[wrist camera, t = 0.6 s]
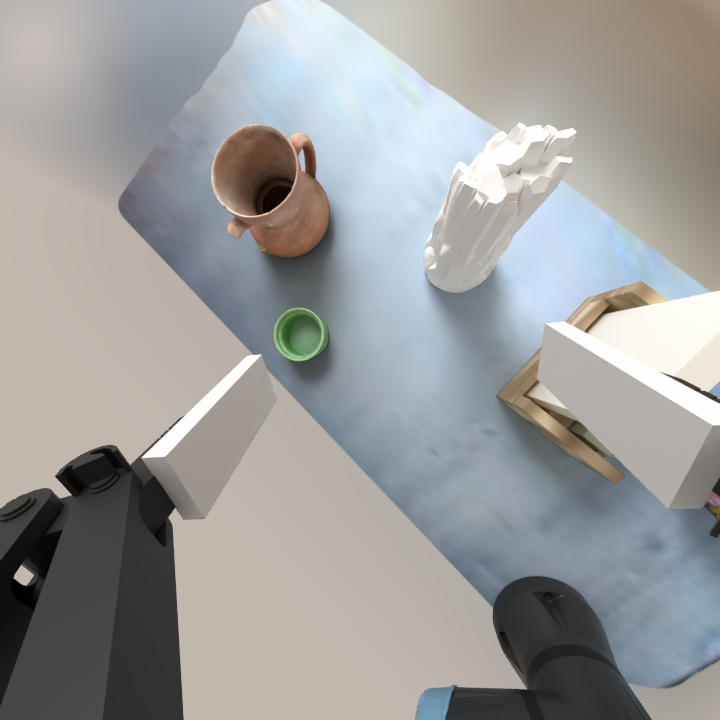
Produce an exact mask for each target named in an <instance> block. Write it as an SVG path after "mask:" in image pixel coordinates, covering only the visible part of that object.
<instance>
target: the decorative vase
mask: <svg viewBox="0 0 720 720" xmlns="http://www.w3.org/2000/svg"><path fill="white" fill-rule="evenodd" d="M576 135H577V132H576V131H575V130H574V129H572V128H571V129H567V130H563V131H560V132H558V131H557V129H556V128H554V127H552V126H550V125H547V126H546V127H544V128H543V129H542V127H541V125H539V126H533V127H528V128H526V125H523V124H522V123H519V124H517V125H516V126H515V127H514V128H513V129H512V131H511V132H510V134H509V135H508V136H507V135H506V134H505V132H500V133H498V134H497V135H495V136H494V137H493V138H492V139H491V140H490V141H489V142H488V143H487V144H486V147H485V149H484V152H483V153H480V154H478V156H477V157H476V158H475V160H474V161H473V162H472V164H471V165H470V166H469V167H468V168H467V166H466V164H465V163H461V162H458V163H457V165H456V167H455V168H454V170H453V173H452V177H451V181H450V185H449V189H448V193H447V197H446V200H445V201H444V203H443V205H442V208H441V210H440V212H439V215H438V217H437V219H436V222H435V224H434V228H433V232H432V233H431V234H430V236H429V239H428V241H427V243H426V246H425V252H424V259H423V260H424V271H425V274H427V276H426V277H427V278H428V279H429V281H430V282H431V283H432V284H433V285H434V286H436V287H438V288H439V289H441V290H443V291H447V292H452V293H461V292H465V291H467V290H470V289H472V288H474V287H476V286H478V285H479V284H481V283H482V282H483V281H484V280H485V279H486V278H487V277H488V276H489V274H490V273H491V271H492V270H493V268H494V267H495V265H496V263H497V262H498V260H499V259H500V256H501V255H502V254H503V253H504V252H505V250H506V249H507V248H508V246H509V245H510V243H511V241H512V237H513V235H514V234H515V233H516V232H517V231H518V230H519V229H520V228H521V226H522V225H523V224H524V223H525V222H526V221H527V220H528V219H529V218H530V217H531V215H532V214H533V213H534V212H535V211H536V210H537V209H538V208H539V206H540V205H541V204H542V203H543V202H544V201H545V200H546V199H547V197H548V196H549V195H550V194H551V193H552V192H553V191H554V190H555V189H556V187H557V186H558V184H559V183H560V181H561V179H562V178H563V176H564V175H565V173H566V172H567V170H568V168H569V167H570V165H571V163H572V161H573V159H572V158H571V157H568V156H566V153H567V151H568V150H569V148H570V146H571V144H572V142H573V141H574V139H575V137H576Z"/></svg>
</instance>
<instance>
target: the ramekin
mask: <svg viewBox="0 0 720 720" xmlns="http://www.w3.org/2000/svg"><path fill="white" fill-rule="evenodd" d="M274 341H275V344H276V347H277V349H278V350H279V352H280V353H281V354H282V355H283V356H285V357H286V358H288V359H290V360H293V361H306V360H309V359H311V358H312V357H315V356H317V355H319V354H320V353H321V352H322V351H323V350H324V349H325V347H326V345H327V342H328V330H327V327H326V325H325V323H324V322H323V320H322V319H320V318H319V317H318V316H317V315H316V314H315V313H314V312H312V311H311V310H309V309H306V308H293V309H290V310H288V311H286V312H285V313H283V314H282V315H281V316H280V318H279V319H278V321H277V323H276V325H275V329H274Z"/></svg>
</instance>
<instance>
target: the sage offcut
mask: <svg viewBox="0 0 720 720" xmlns="http://www.w3.org/2000/svg"><path fill="white" fill-rule="evenodd" d="M567 430H569V431H570V432H571V433H572V434H574V435H575V436H576V437H577V438H579V439H580V440H581V441H582V442H584V443H585V444H586V445H587V446H589V447H591V448H592V449H594V450H596V451H598V452H600V453H602V454H604V455H606V456H608V457H611V456H612V455H613V454H612V453H611V452H610V451H609V450H608V449H607V448H606V447H605V446H604V445H603V444H602V443H601V442H600V441H599V440H598V439H597V438H596V437H595V436H594V435H593V434H592V433H591V432H590V431H589V430H588V429H587V428H586V427H585V426H584V425H583V424H582V423H581V422H579V421H576V420H575V421H574V422H573V423H572V424H571V425H570V426H569V427H568V428H567Z"/></svg>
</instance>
